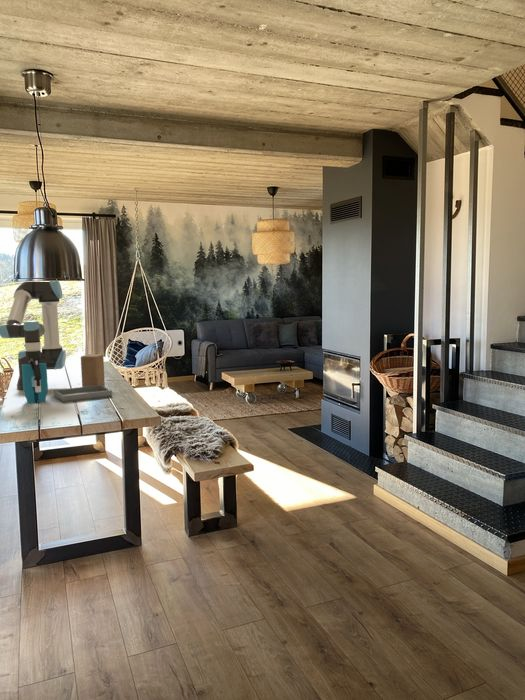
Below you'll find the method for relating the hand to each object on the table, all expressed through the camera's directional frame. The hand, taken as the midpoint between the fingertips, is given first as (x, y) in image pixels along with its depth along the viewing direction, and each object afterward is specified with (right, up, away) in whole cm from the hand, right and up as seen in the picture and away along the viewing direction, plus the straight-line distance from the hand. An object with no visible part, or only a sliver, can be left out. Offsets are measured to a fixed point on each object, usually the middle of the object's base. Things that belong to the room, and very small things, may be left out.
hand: (35, 390), depth 295 cm
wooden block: (+20, -2, +36) cm, 41 cm away
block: (0, -6, +1) cm, 6 cm away
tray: (+21, -4, +12) cm, 25 cm away
